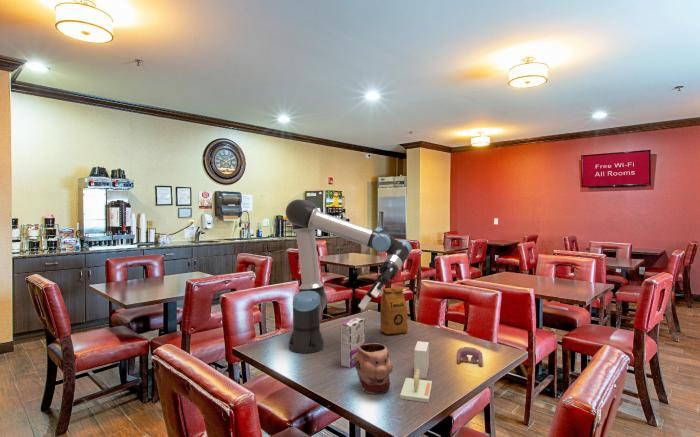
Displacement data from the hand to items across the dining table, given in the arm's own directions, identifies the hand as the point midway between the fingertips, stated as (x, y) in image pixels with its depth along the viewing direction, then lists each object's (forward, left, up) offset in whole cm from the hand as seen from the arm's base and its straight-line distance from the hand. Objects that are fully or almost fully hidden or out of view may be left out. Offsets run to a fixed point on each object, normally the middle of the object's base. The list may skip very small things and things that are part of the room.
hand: (366, 301), depth 158 cm
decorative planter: (+8, -24, -23) cm, 34 cm away
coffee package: (+5, +35, -23) cm, 42 cm away
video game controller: (+40, +7, -23) cm, 47 cm away
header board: (+23, -23, -23) cm, 40 cm away
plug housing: (+23, -8, -23) cm, 33 cm away
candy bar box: (-4, -6, -23) cm, 24 cm away
